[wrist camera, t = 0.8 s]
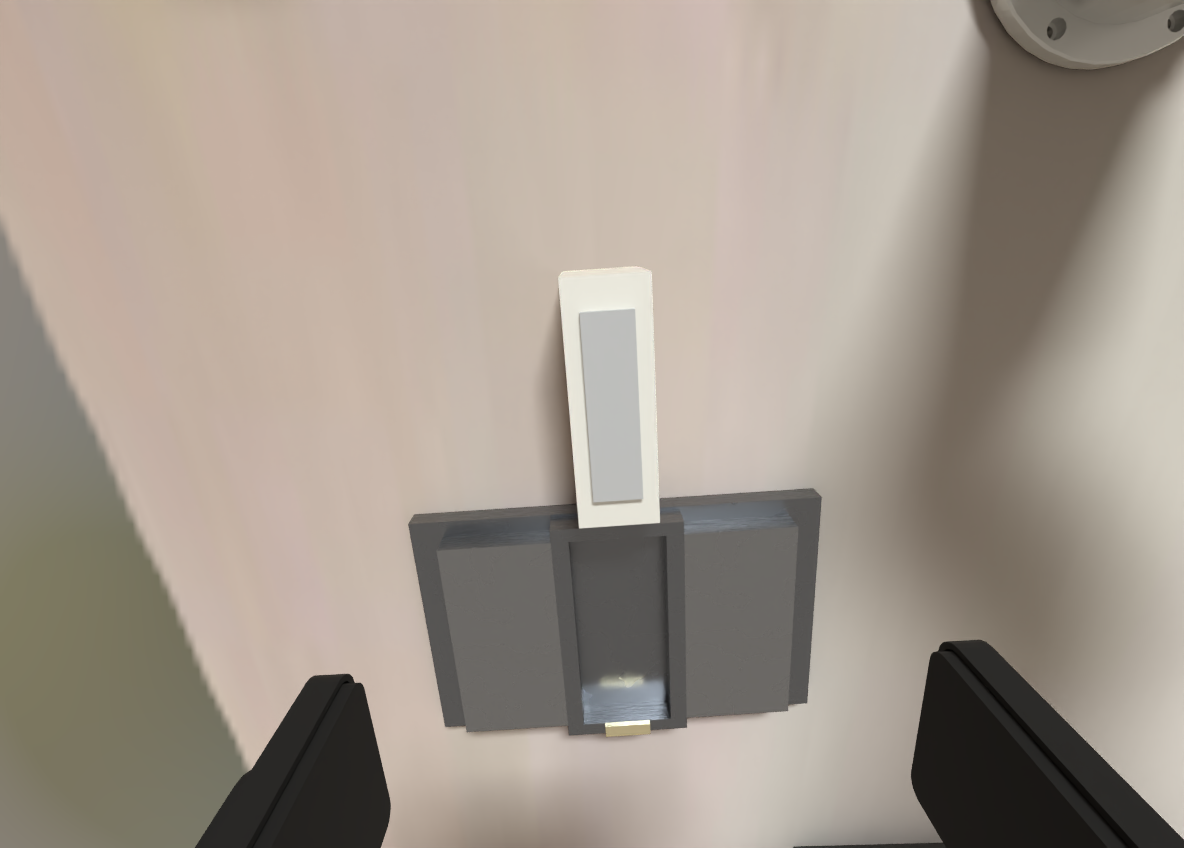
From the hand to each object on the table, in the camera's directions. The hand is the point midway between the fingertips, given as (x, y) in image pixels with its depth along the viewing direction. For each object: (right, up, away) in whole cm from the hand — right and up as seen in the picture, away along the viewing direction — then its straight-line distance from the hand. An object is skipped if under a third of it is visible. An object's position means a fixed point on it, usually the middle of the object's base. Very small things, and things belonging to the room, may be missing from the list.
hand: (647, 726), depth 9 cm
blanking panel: (0, +8, +22) cm, 23 cm away
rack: (+1, -7, +26) cm, 27 cm away
